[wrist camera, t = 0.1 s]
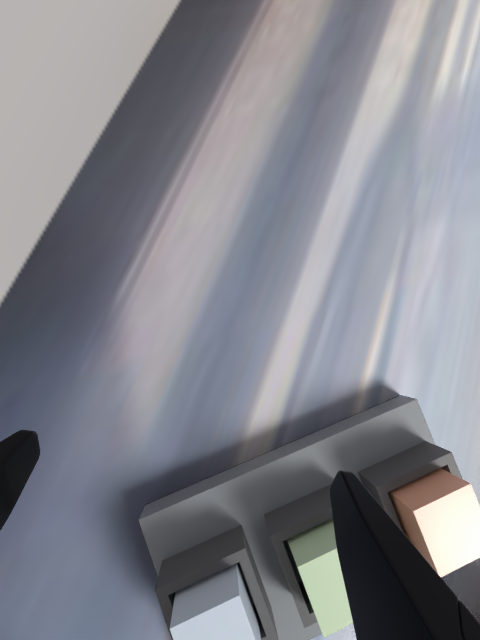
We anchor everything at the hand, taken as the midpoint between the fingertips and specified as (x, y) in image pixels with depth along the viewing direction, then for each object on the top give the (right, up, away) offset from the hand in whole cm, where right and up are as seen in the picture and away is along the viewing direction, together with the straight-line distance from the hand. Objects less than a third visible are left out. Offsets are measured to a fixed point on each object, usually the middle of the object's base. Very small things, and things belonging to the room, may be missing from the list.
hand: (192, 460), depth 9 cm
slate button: (0, -14, +10) cm, 17 cm away
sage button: (+7, -11, +11) cm, 17 cm away
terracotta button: (+14, -9, +12) cm, 20 cm away
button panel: (+7, -11, +15) cm, 20 cm away
